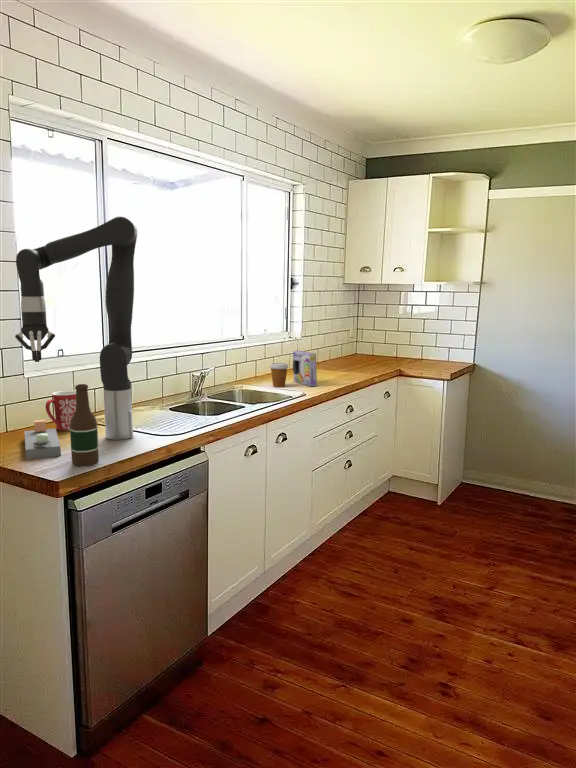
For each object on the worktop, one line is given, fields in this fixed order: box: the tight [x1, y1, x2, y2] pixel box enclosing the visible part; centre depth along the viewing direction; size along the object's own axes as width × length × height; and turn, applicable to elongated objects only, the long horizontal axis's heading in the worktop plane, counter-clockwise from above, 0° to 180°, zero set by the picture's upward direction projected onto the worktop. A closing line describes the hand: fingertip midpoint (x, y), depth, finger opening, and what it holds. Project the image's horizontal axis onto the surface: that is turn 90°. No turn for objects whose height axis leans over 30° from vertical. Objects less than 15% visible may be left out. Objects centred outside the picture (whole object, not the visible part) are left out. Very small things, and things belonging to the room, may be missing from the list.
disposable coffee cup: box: [269, 362, 289, 388], centre depth 311 cm, size 10×10×12 cm
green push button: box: [36, 433, 49, 442], centre depth 184 cm, size 4×4×2 cm
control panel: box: [24, 428, 62, 460], centre depth 194 cm, size 10×26×3 cm, turn 24°
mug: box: [45, 390, 76, 431], centre depth 217 cm, size 13×9×14 cm
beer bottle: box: [69, 383, 100, 468], centre depth 175 cm, size 8×8×24 cm
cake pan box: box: [292, 350, 318, 387], centre depth 318 cm, size 19×5×18 cm, turn 28°
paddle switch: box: [33, 419, 47, 432], centre depth 202 cm, size 4×3×3 cm
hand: (36, 361), depth 200 cm, fingers closed
